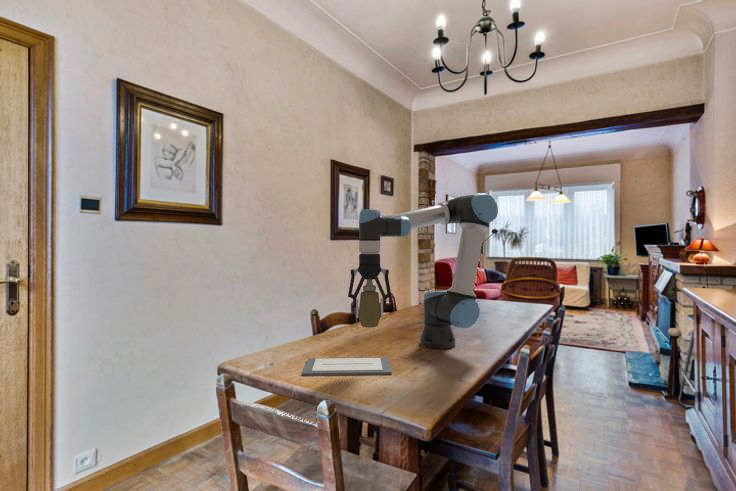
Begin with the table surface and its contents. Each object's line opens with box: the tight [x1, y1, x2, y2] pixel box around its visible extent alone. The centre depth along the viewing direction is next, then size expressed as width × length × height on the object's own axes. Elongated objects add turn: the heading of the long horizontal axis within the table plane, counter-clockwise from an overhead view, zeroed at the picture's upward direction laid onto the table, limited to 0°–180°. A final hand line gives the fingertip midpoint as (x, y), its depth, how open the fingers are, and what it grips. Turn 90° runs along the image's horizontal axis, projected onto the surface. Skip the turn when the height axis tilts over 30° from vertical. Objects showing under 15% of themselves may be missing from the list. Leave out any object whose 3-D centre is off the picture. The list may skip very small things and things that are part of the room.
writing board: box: [301, 356, 393, 377], centre depth 137 cm, size 30×16×1 cm, turn 92°
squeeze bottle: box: [358, 279, 381, 329], centre depth 137 cm, size 8×8×18 cm
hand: (369, 317), depth 137 cm, fingers closed on squeeze bottle, 8 cm apart
